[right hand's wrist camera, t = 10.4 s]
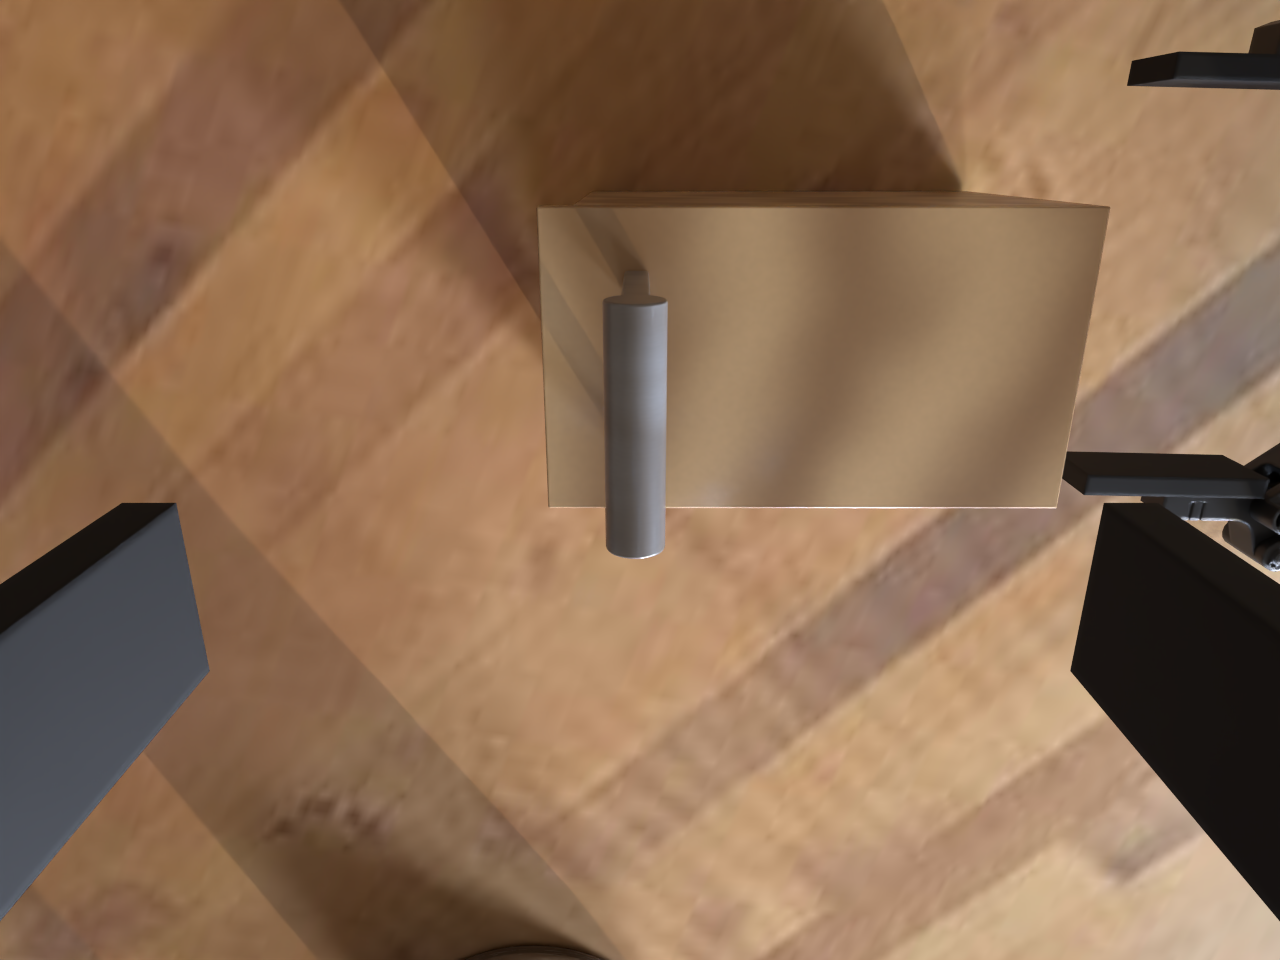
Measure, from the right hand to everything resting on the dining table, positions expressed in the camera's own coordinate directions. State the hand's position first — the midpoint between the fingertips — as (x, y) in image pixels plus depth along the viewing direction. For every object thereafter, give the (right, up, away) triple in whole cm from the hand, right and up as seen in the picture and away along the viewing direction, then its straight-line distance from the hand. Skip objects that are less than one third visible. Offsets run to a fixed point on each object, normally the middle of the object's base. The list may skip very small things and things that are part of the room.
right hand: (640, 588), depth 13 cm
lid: (+5, +5, +14) cm, 16 cm away
